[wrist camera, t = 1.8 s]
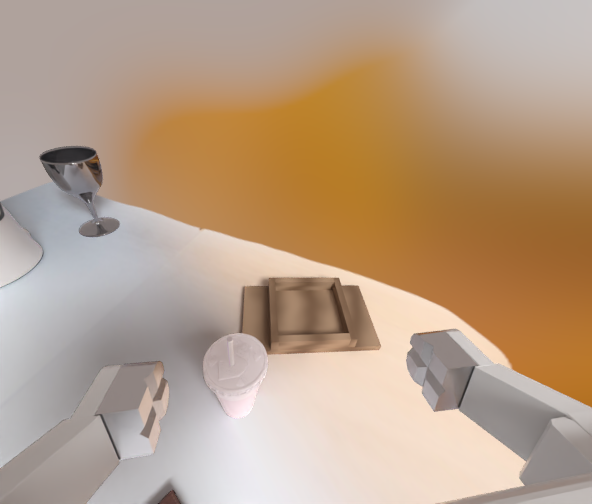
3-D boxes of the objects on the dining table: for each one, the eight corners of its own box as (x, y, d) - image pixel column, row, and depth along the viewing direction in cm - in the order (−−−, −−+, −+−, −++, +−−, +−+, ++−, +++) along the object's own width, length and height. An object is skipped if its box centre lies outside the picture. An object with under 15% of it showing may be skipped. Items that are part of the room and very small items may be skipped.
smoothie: (199, 409, 32) (179, 342, 23) (235, 366, 37) (230, 296, 28) (242, 444, 30) (238, 385, 21) (275, 393, 34) (283, 326, 25)
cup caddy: (241, 355, 38) (240, 343, 36) (244, 290, 47) (244, 278, 45) (379, 349, 41) (385, 338, 39) (356, 289, 50) (361, 277, 48)
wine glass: (128, 217, 60) (105, 148, 50) (110, 239, 54) (79, 165, 44) (90, 215, 59) (59, 144, 50) (67, 236, 53) (26, 160, 44)
